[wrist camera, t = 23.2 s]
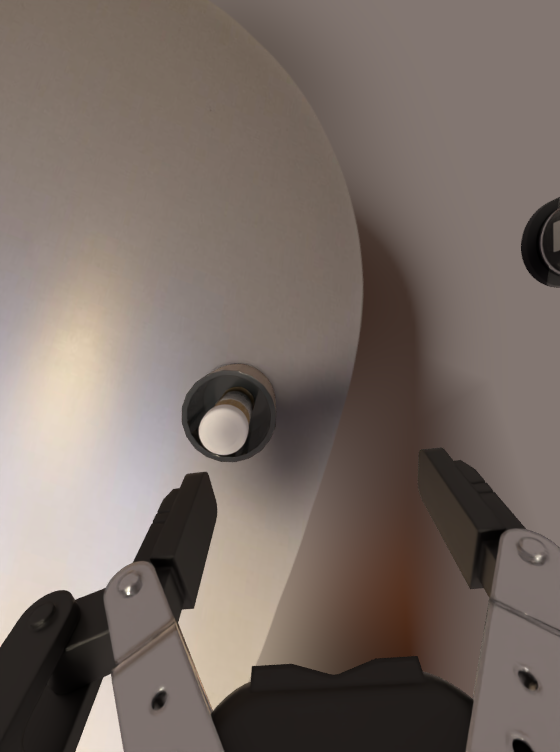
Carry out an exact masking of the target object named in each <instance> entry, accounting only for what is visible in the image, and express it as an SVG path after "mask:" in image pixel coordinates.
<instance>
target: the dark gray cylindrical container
mask: <svg viewBox="0 0 560 752" xmlns="http://www.w3.org/2000/svg"><path fill="white" fill-rule="evenodd" d="M233 387H242V388H245V389H246V390H248V391H249V392H250V393H251V394H252V396H253V398H254V409H253V411H252V415H251V419H250V422H249V430H248V435H247V438H246V441H245V443H244V445H243V446H242V447H241V448H240V449H239V450H238V451H236V452H234V453H232V454H229V455H218V454H215V453H212V452H210V451H209V450H208V449H206V448H205V447H204V445H203V444H202V442H201V440H200V437H199V426H200V423H201V420H202V419H203V417H204V416H205V414H206V413H207V412H208V411H209V410H210V409H212V408H213V407H214V406H215V404H216V403H217V401H218V400H219V399H220V398H221V397H222V396H223V394H224V393H225V392H226V391H227V390H228V389H230V388H233ZM182 425H183V428H184V431H185V434H186V437H187V438H188V439H189V441H190V442H191V444H192V445H193V446H194V448H195V449H197V450H198V451H199V452H201V453H202V454H203V455H205V456H206V457H209V458H211V459H214V460H217V461H221V462H237V461H241V460H245V459H248V458H251V457H252V456H254V455H255V454H257V453H258V452H260V451H261V450H262V449H263V448H264V447H265V445H266V444H267V443H268V442H269V440H270V439H271V436H272V434H273V431H274V429H275V425H276V400H275V394H274V390H273V387H272V385H271V383H270V381H269V380H268V379H267V377H266V376H265V375H264V374H263V373H262V372H260V371H259V370H258V369H256V368H254V367H252V366H249V365H245V364H230V365H226V366H223V367H220V368H218V369H217V370H215V371H213V372H211V373H209V374H208V375H206V376H205V377H203V378H202V379H200V380H199V381H197V382H196V383H195V384H194V385H193V387H192V388H191V389H190V390H189V392H188V393H187V395H186V397H185V400H184V403H183V406H182Z"/></svg>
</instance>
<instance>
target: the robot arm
mask: <svg viewBox="0 0 560 752" xmlns="http://www.w3.org/2000/svg"><path fill="white" fill-rule="evenodd" d="M536 249H537V254H538V257H539V260H540V261H541V263H542V265H543V266H544V267H545V268H546V269H547V270H548V271H550V272H551V273H553V274H555V275H558V276H560V208H558V209H556V210H554V211H553V212H552V213H550V214H549V215H548V216H547V217H546V219H545V220H544V221H543V223H542V225H541V226H540V229H539V231H538V235H537V240H536ZM418 463H419V464H418V488H419V493H420V495H421V498H422V501H423V503H424V505H425V506H426V508H427V510H428V512H429V514H430V516H431V518H432V519H433V521H434V523H435V525H436V527H437V529H438V530H439V532H440V534H441V536H442V538H443V540H444V542H445V543H446V545H447V547H448V549H449V551H450V553H451V554H452V556H453V558H454V560H455V562H456V564H457V566H458V567H459V569H460V571H461V573H462V575H463V577H464V578H465V580H466V582H467V584H468V586H469V588H470V589H477V588H484V589H485V591H486V593H487V595H488V596H489V604H488V610H487V616H486V622H485V628H484V634H483V640H482V646H481V652H480V658H479V664H478V670H477V676H476V682H475V688H474V694H473V699H472V698H471V697H470V696H468V695H467V694H466V693H465V692H463V691H462V690H460V689H459V688H457V687H456V686H454V685H453V684H451V683H449V682H447V681H446V680H443V679H442V678H440V677H437V676H435V675H432V674H430V673H426V672H422V669H421V665H420V662H419V659H418V657H417V656H411V657H397V658H379V659H374V660H371V661H369V662H366V663H364V664H362V665H359V666H357V667H354V668H352V669H350V670H347V671H345V672H342V673H341V674H337V675H331V674H327V673H323V672H320V671H316V670H312V669H308V668H305V667H301V666H297V665H294V664H281V665H265V666H252V673H251V682H249V683H246V684H244V685H243V686H241V687H239V688H238V689H236V690H235V691H233V692H232V693H231V694H229V695H228V696H227V697H226V698H225V699H224V700H223V701H222V702H221V703H220V704H219V705H218V706H217V707H216V708H215V709H214V711H213V709H212V707H211V704H210V702H209V699H208V697H207V695H206V692H205V690H204V687H203V685H202V682H201V680H200V677H199V675H198V672H197V670H196V667H195V665H194V662H193V659H192V657H191V654H190V652H189V649H188V647H187V644H186V642H185V639H184V637H183V634H182V632H181V629H180V626H179V624H178V621H179V617H180V614H181V610H182V609H194V606H195V602H196V598H197V594H198V590H199V586H200V582H201V578H202V574H203V570H204V566H205V562H206V558H207V554H208V550H209V546H210V543H211V539H212V535H213V531H214V527H215V523H216V518H217V503H216V499H215V495H214V492H213V488H212V485H211V481H210V478H209V475H208V473H207V472H199V473H190V474H186V476H185V477H184V480H183V482H182V484H181V487H180V488H178V489H173V490H172V491H171V492H170V493H169V494H168V495H167V496H166V497H165V498H164V499H163V501H162V503H161V505H160V508H159V510H158V514H156V516H155V518H154V520H153V524H151V526H150V528H149V530H148V532H147V534H146V537H145V539H144V541H143V543H142V545H141V547H140V549H139V551H138V553H137V555H136V557H135V559H134V561H133V563H132V564H129V565H127V566H125V567H124V568H122V569H121V570H120V571H119V572H117V573H116V574H115V575H114V576H113V578H112V579H111V580H110V582H109V583H108V585H107V587H106V588H104V589H102V590H99V591H97V592H94V593H92V594H89V595H87V596H84V597H81V598H79V599H76V600H75V599H74V597H73V596H72V594H71V593H70V592H68V591H65V590H59V591H55V592H52V593H50V594H47V595H45V596H44V597H42V598H40V599H39V600H38V601H36V602H35V603H34V604H33V605H31V606H30V607H29V608H28V609H27V610H26V611H25V612H24V613H23V615H22V616H21V617H20V619H19V620H18V621H17V623H16V624H15V626H14V627H13V629H12V630H11V632H10V633H9V635H8V636H7V638H6V639H5V641H4V642H3V644H2V645H1V647H0V752H75V751H76V748H77V745H78V743H79V740H80V738H81V735H82V732H83V730H84V727H85V724H86V722H87V719H88V716H89V714H90V711H91V708H92V706H93V703H94V700H95V698H96V695H97V693H98V690H99V687H100V685H101V682H102V679H103V677H105V676H107V675H109V674H111V677H112V685H113V690H114V696H115V702H116V708H117V714H118V720H119V726H120V732H121V738H122V744H123V749H124V752H560V548H559V547H558V546H557V545H556V544H555V543H554V542H552V541H551V540H549V539H548V538H546V537H544V536H542V535H541V534H538V533H536V532H533V531H530V530H527V529H526V528H525V527H524V526H523V525H522V524H521V522H520V521H519V520H518V519H517V518H516V517H515V516H514V514H513V513H512V512H511V511H510V510H509V508H508V507H507V506H506V505H505V504H504V503H503V501H502V500H501V499H500V498H499V497H498V496H497V494H496V493H495V492H493V490H492V489H491V487H490V486H489V485H488V484H487V483H485V481H484V479H483V478H482V477H481V476H480V474H479V473H478V472H477V471H476V470H475V469H474V468H472V467H470V466H469V465H468V464H466V463H464V462H463V461H461V460H458V461H453V460H452V459H451V457H450V456H449V455H448V453H447V452H446V451H445V450H444V449H443V448H432V449H423V450H420V451H419V462H418Z"/></svg>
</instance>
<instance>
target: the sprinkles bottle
mask: <svg viewBox="0 0 560 752" xmlns="http://www.w3.org/2000/svg"><path fill="white" fill-rule="evenodd" d="M253 409H254V398H253V396H252V394H251V393H250V392H249V391H248V390H246V389H245V388H242V387H233V388H230V389H228V390H227V391H226V392H225V393H224V394H223V396H222V397H221V398H220V399H219V400H218V401H217V403H216V404H215V406H214V407H213V408H212V409H210V410H209V411H208V412H207V413H206V414H205V416H204V417H203V419H202V420H201V423H200V426H199V437H200V440H201V442H202V444H203V445H204V447H205V448H206V449H208V450H209V451H210V452H212V453H215V454H218V455H229V454H232V453H234V452H236V451H238V450H239V449H240V448H241V447H242V446H243V445H244V443H245V441H246V438H247V435H248V430H249V422H250V419H251V415H252V411H253Z"/></svg>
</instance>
